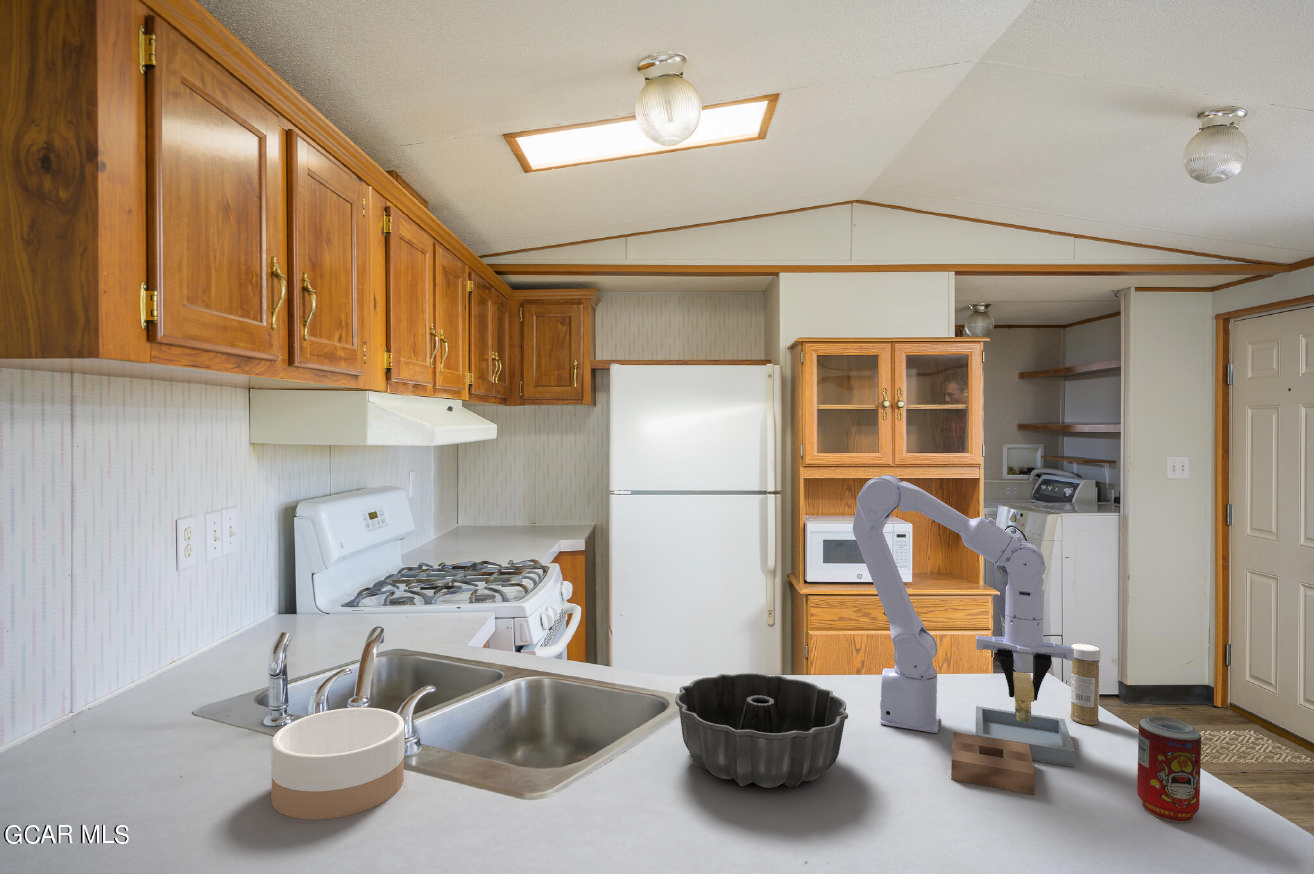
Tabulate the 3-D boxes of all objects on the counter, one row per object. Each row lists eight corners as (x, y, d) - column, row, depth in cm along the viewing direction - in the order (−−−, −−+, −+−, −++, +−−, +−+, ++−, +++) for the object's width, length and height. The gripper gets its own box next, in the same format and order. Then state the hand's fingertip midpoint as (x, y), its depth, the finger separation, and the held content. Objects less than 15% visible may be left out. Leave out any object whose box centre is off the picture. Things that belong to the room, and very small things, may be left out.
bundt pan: (746, 716, 133) (747, 660, 133) (879, 765, 114) (881, 701, 114) (639, 760, 114) (640, 696, 114) (777, 828, 96) (779, 751, 95)
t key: (1012, 709, 127) (1012, 671, 127) (1030, 712, 126) (1030, 673, 126) (1015, 726, 120) (1014, 686, 120) (1034, 729, 119) (1033, 688, 119)
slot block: (951, 779, 109) (951, 759, 109) (952, 750, 120) (953, 731, 120) (1034, 795, 105) (1034, 774, 105) (1028, 763, 115) (1028, 744, 115)
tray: (976, 750, 120) (976, 735, 120) (975, 719, 132) (975, 705, 132) (1074, 767, 114) (1075, 751, 114) (1064, 733, 127) (1064, 719, 127)
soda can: (1159, 825, 97) (1161, 733, 97) (1125, 798, 104) (1127, 712, 104) (1212, 826, 97) (1215, 734, 97) (1175, 799, 104) (1177, 713, 104)
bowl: (428, 772, 110) (429, 716, 109) (344, 831, 93) (345, 765, 93) (335, 754, 115) (336, 700, 115) (241, 806, 99) (241, 744, 99)
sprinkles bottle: (1103, 722, 132) (1105, 647, 132) (1090, 727, 130) (1092, 651, 129) (1077, 714, 136) (1079, 641, 136) (1064, 719, 133) (1066, 645, 133)
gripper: (977, 616, 122) (975, 698, 122) (1076, 626, 117) (1075, 712, 117) (976, 607, 129) (975, 684, 129) (1071, 616, 123) (1069, 697, 123)
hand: (1022, 697), depth 123 cm, fingers closed on t key, 3 cm apart
